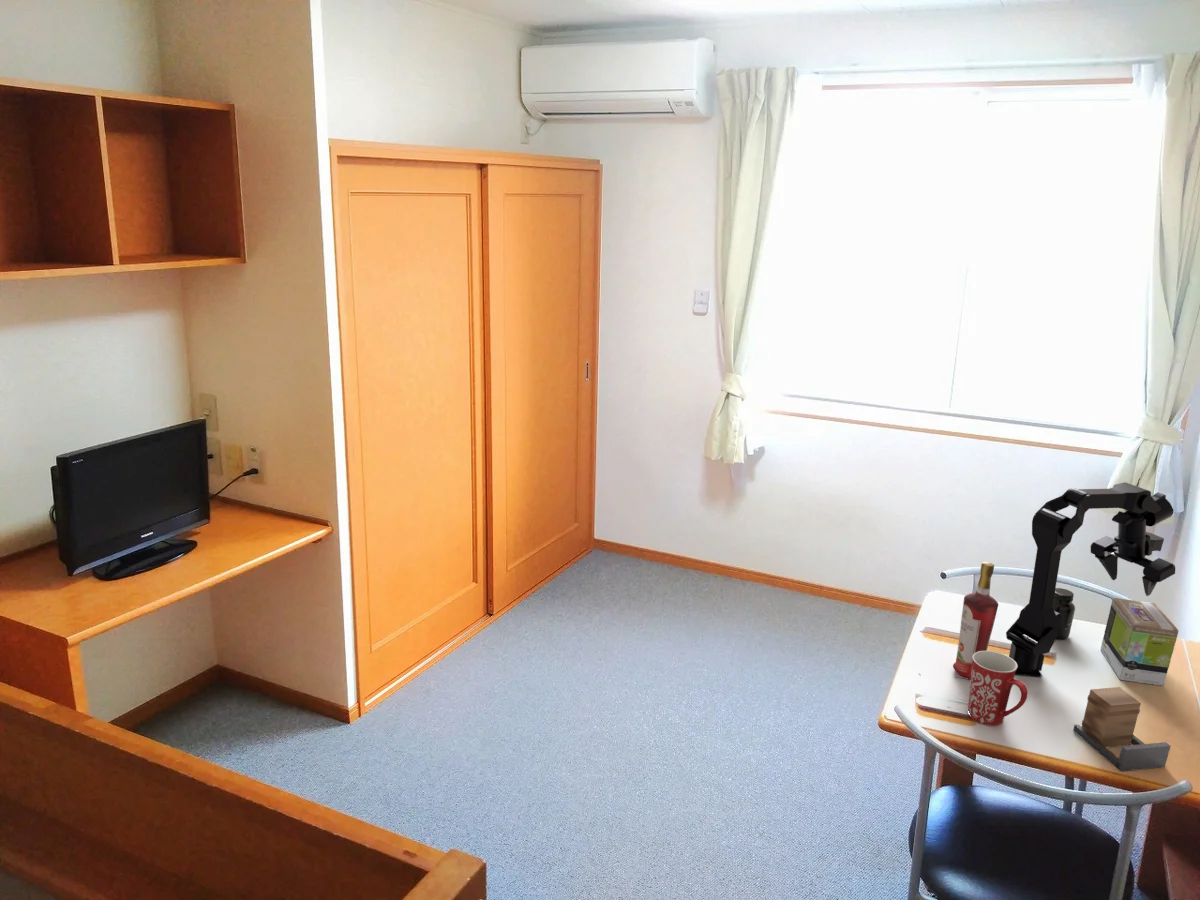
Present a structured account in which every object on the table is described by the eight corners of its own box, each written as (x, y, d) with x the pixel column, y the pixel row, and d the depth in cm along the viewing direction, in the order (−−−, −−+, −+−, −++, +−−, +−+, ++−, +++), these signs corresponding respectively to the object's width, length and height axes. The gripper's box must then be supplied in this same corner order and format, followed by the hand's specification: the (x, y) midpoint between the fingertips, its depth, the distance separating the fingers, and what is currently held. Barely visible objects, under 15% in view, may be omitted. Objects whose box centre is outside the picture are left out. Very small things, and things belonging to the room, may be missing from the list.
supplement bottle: (1072, 642, 230) (1081, 599, 227) (1043, 638, 232) (1052, 596, 228) (1064, 629, 237) (1073, 587, 233) (1036, 626, 238) (1045, 584, 234)
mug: (952, 710, 198) (962, 655, 194) (981, 700, 203) (991, 646, 199) (1001, 742, 188) (1013, 684, 184) (1030, 731, 192) (1042, 675, 188)
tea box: (1165, 687, 212) (1180, 630, 207) (1118, 680, 213) (1132, 624, 209) (1142, 655, 226) (1156, 601, 221) (1098, 649, 228) (1111, 595, 223)
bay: (1073, 730, 193) (1077, 709, 191) (1115, 726, 195) (1120, 706, 194) (1120, 771, 180) (1126, 749, 179) (1164, 767, 182) (1170, 745, 181)
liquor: (944, 667, 216) (963, 558, 207) (971, 664, 218) (991, 556, 209) (963, 684, 209) (984, 572, 201) (991, 680, 211) (1012, 570, 202)
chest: (1080, 730, 193) (1089, 689, 190) (1109, 727, 195) (1119, 686, 192) (1100, 748, 187) (1111, 705, 184) (1131, 745, 189) (1141, 703, 186)
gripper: (1193, 534, 213) (1190, 590, 219) (1121, 507, 229) (1120, 559, 235) (1159, 552, 209) (1157, 608, 215) (1088, 523, 225) (1088, 576, 232)
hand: (1131, 587), depth 224 cm, fingers open, 9 cm apart
